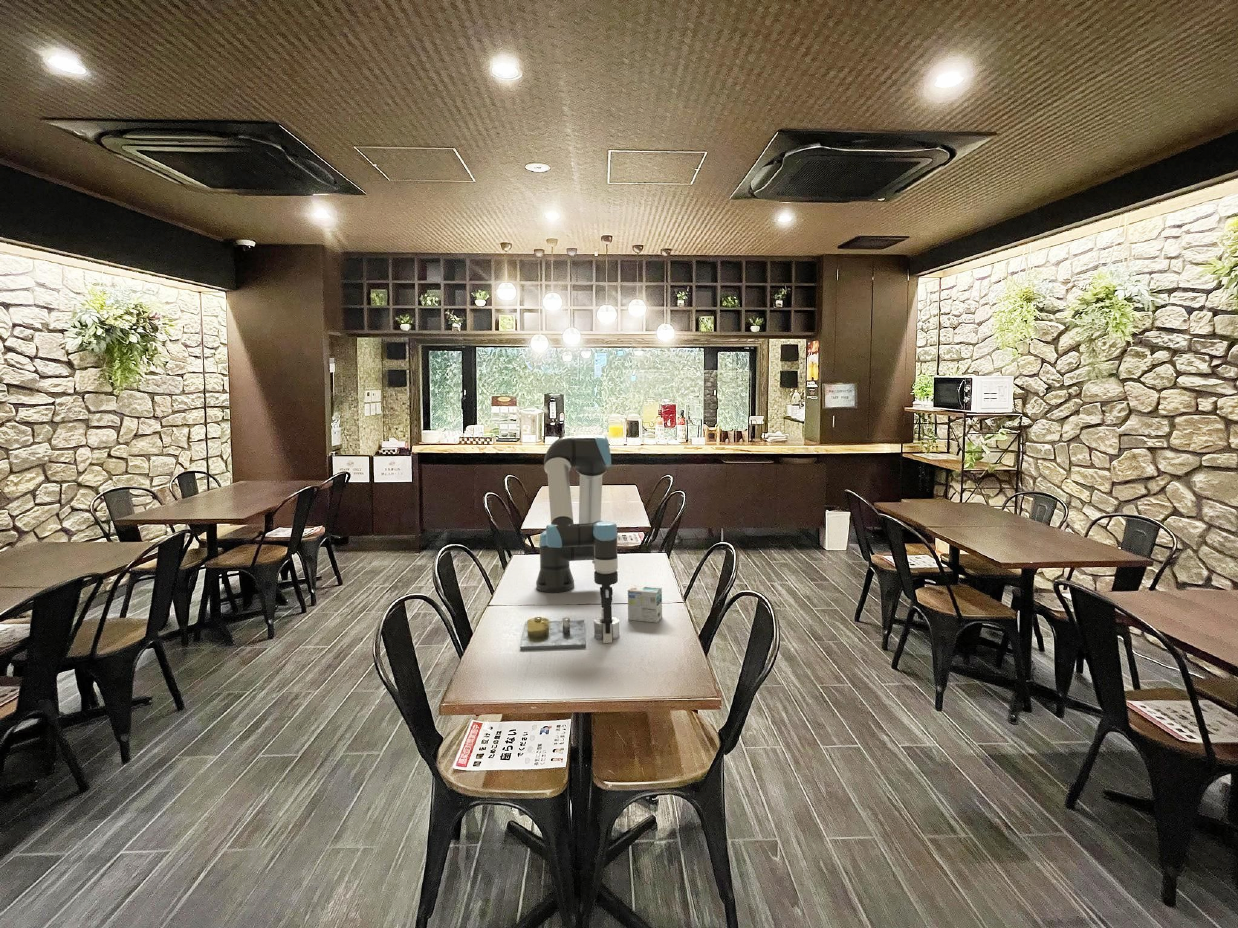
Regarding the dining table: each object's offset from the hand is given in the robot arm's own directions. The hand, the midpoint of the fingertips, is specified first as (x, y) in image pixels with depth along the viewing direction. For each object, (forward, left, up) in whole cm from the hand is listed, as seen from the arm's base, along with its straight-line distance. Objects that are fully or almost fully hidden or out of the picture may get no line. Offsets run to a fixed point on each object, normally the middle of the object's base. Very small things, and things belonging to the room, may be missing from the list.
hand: (606, 634), depth 227 cm
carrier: (-1, -17, 0) cm, 17 cm away
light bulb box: (-15, +14, 0) cm, 21 cm away
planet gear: (0, 0, 0) cm, 0 cm away
